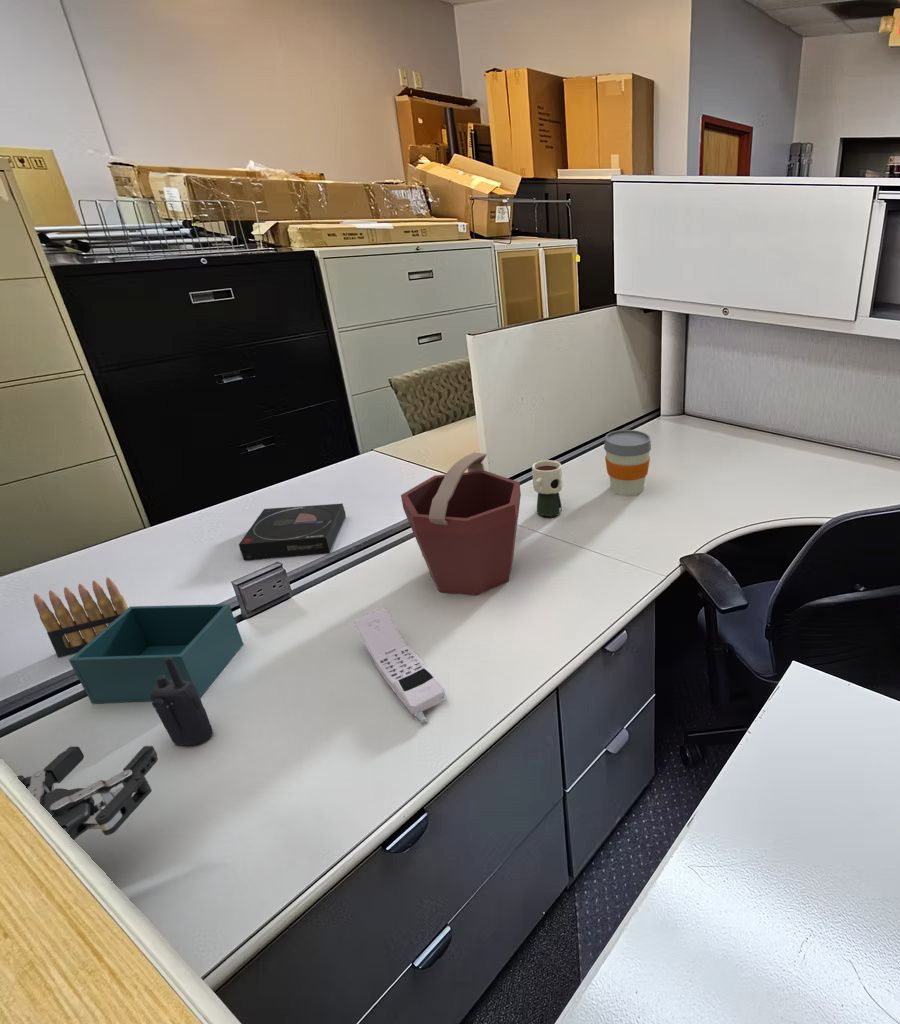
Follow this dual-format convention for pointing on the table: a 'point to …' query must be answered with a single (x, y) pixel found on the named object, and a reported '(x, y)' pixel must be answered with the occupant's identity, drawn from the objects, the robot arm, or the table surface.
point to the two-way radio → (180, 708)
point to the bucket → (465, 526)
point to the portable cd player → (293, 532)
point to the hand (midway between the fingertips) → (115, 750)
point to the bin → (157, 650)
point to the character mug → (547, 486)
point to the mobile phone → (399, 663)
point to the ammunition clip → (79, 616)
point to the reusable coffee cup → (627, 460)
